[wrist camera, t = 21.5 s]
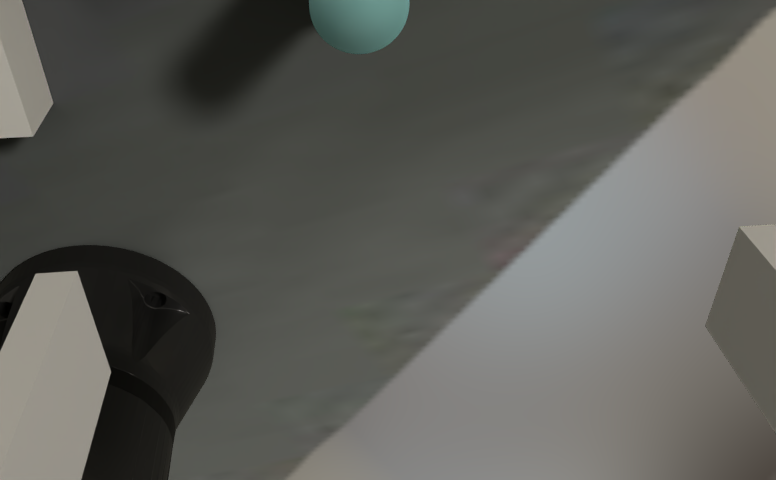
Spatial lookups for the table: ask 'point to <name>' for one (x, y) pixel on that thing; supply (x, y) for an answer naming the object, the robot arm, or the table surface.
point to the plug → (358, 23)
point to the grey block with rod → (20, 75)
